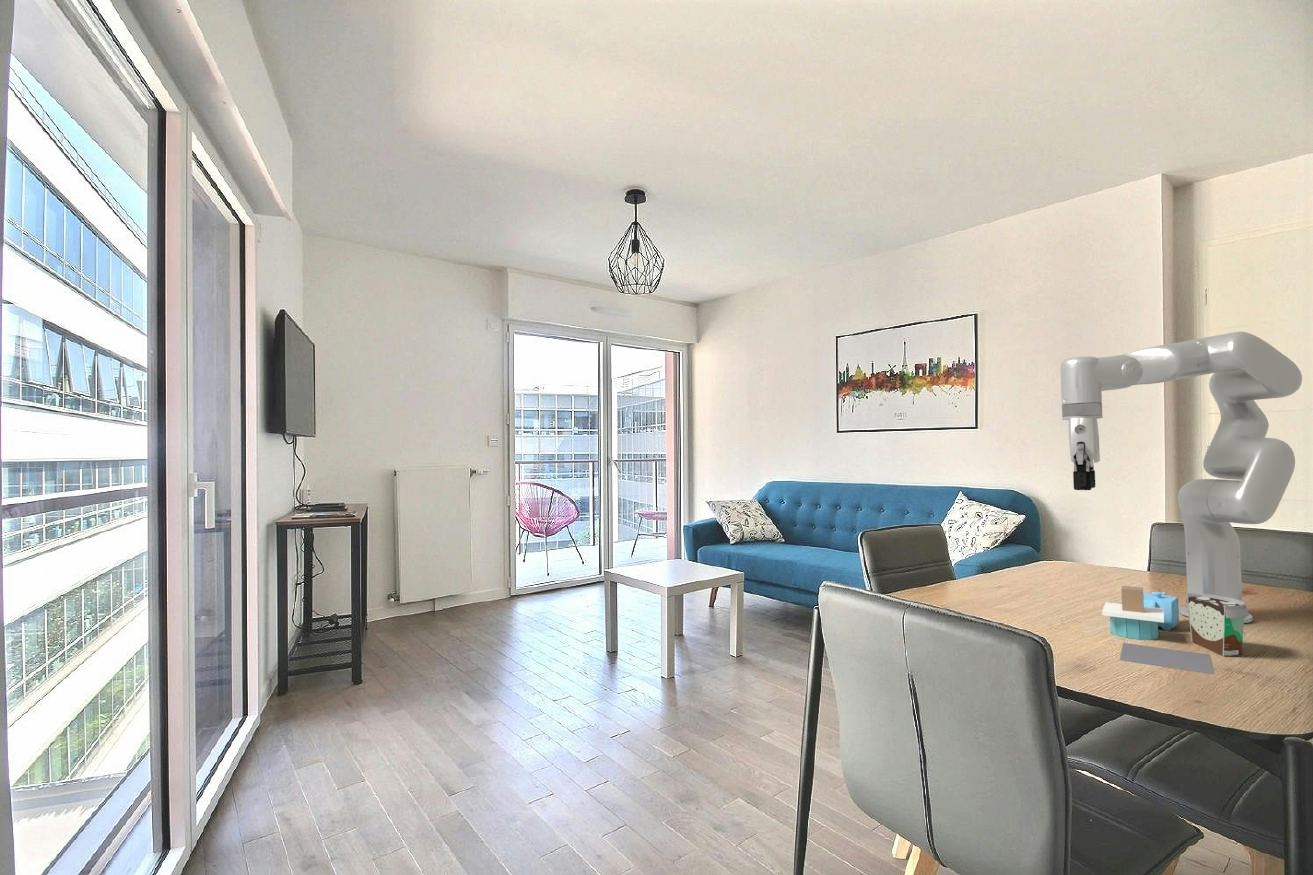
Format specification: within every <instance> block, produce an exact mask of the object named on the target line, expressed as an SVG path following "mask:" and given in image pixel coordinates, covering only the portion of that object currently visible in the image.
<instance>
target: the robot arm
mask: <svg viewBox="0 0 1313 875" xmlns="http://www.w3.org/2000/svg"><path fill="white" fill-rule="evenodd" d="M1210 374H1211V376H1210V378H1209V383H1208V387H1209V391H1210V393H1211V395H1212V397H1213V399H1214V401H1215V402H1216V405H1217V406H1218V407H1217V408H1218V410H1219V413H1220V421H1219V424H1218V427H1217V429H1216V432H1215V433H1214V435H1213V437H1212V439H1211V442H1210V443H1209V446H1208V448H1207V451H1206V452H1205V455H1204V458H1203V463H1202V464H1203V469H1204V471H1205V472H1206V473H1207V474H1208V475H1210V476H1211V477H1214V478H1212V479H1211V478H1201V479H1200V478H1199V479H1194V480H1190V481H1188V482H1186V483H1184V484H1183V485H1182V486H1181V487H1180V489H1179V491H1178V494H1177V504H1178V509H1179V512H1180V515H1181V518H1182V523H1183V528H1184V544H1185V546H1184V547H1185V548H1184V549H1185V566H1186V567H1185V569H1186V571H1185V572H1186V590H1187V591H1186V594H1187V593H1198V594H1209V595H1217V596H1223V597H1228V598H1233V599H1237V600H1240V601H1242V602H1243V587H1242V586H1243V585H1242V563H1241V561H1242V560H1241V543H1240V539H1239V536H1238V533H1237V532H1236V530H1235V528H1234V527H1233V526H1232V523H1233V524H1243V525H1259V524H1262V523H1263V524H1264V523H1266V522H1267V521H1269V520H1270V519H1271V518H1272V517H1273V516H1274V514H1275V513H1276V512H1277V509H1278V508H1279V505H1280V504H1281V501H1282V499H1283V496H1284V494H1285V492H1286V490H1287V488H1288V485H1289V483H1290V481H1291V480H1292V479H1291V478H1292V476H1293V474H1294V471H1295V468H1296V467H1295V466H1296V459H1295V458H1296V457H1295V453H1294V451H1293V448H1292V447H1291V446H1290V444H1288V443H1287V442H1286V441H1284V440H1281V439H1279V438H1273V437H1267V436H1266V435H1267V433H1268V431H1269V420H1268V418H1267V416H1266V414H1265V413H1264V412H1263V410H1262V409H1261V408H1260V406H1259V405H1258V404H1257V402H1256V401H1255V400H1257V401H1259V400H1269V399H1281V398H1285V397H1286V398H1287V397H1288V396H1292V395H1293V394H1295V393H1296V392H1297V391H1298V390H1299V389H1300V388H1301V385H1302V382H1303V375H1302V371H1301V370H1300V368H1299V366H1298V365H1297V364H1296V363H1295V362H1294V361H1293V360H1292V359H1290V358H1289V357H1288V356H1286V355H1285V354H1283V353H1282V352H1280V351H1279V350H1278V349H1277V348H1275V347H1274V346H1272V345H1271V344H1270V343H1268V342H1267V341H1266V340H1264V339H1262V338H1261V337H1258V335H1255V334H1252V333H1249V332H1246V331H1235V332H1234V331H1233V332H1229V333H1224V334H1218V335H1212V336H1207V337H1200V338H1196V339H1189V340H1184V341H1179V342H1173V343H1168V344H1167V343H1166V344H1159V345H1157V346H1153V347H1152V346H1151V347H1148V348H1147V347H1146V348H1143V349H1140V350H1135V351H1132V352H1129V353H1124V354H1119V355H1111V356H1104V357H1095V356H1077V357H1070V358H1069V357H1068V358H1067V359H1063V361H1062V362H1061V364H1060V388H1061V390H1060V393H1061V414H1062V415H1061V416H1062V418H1061V419H1062V420H1063V421H1068V441H1069V443H1068V445H1069V454H1070V456H1069V457H1070V460H1071V462H1072V463H1073V471H1072V478H1073V490H1075V491H1091V490H1092V489H1094V488H1096V470H1095V466H1094V463H1097V464H1098V462H1100V461H1101V455H1100V454H1101V452H1100V437H1099V436H1100V434H1099V425H1098V424H1099V423H1098V419H1103V418H1104V417H1103V400H1102V399H1103V394H1102V392H1105V391H1115V390H1121V389H1122V390H1123V389H1126V388H1130V387H1132V386H1137V385H1138V386H1140V385H1153V384H1160V383H1166V382H1173V381H1178V380H1182V379H1188V378H1189V379H1190V378H1194V377H1199V376H1204V375H1210ZM1215 478H1216V479H1215ZM1179 614H1181V615H1183V616H1186V617H1188V618H1189V613H1188V605H1183V606H1182V605H1181V606H1180V607H1179ZM1252 622H1253V615H1252V614H1251V613H1249V616H1247V617H1244V624H1248V623H1252Z"/></svg>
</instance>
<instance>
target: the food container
mask: <svg viewBox="0 0 1313 875" xmlns="http://www.w3.org/2000/svg"><path fill="white" fill-rule="evenodd" d="M1185 604H1187V606H1188V613H1189V617H1188V622H1189V628H1190V629H1189V631H1190V641H1191V642H1192V643H1194V644H1195V645H1197V646H1200V647H1202V648H1204V649H1207V650H1209V651H1210V652H1212V653H1215V654H1217V655H1219V656H1222V658H1233V657H1240V656H1242V654H1243V639H1244V638H1243V637H1244V624H1245V623H1244V617H1247V616H1249V614H1250V613H1249V611H1248V607H1247V606H1246V605H1245V601H1243V600H1242V601H1240V600H1237V599H1233V598H1228V597H1223V596H1217V595H1209V594H1198V593H1187V592H1186V595H1185Z"/></svg>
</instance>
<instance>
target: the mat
mask: <svg viewBox="0 0 1313 875" xmlns="http://www.w3.org/2000/svg"><path fill="white" fill-rule="evenodd" d="M1119 661H1123V662H1130V663H1134V664H1135V663H1137V664H1142V665H1143V664H1144V665H1149V666H1155V667H1162V668H1168V669H1176V670H1182V671H1189V672H1194V673H1195V672H1196V673H1202V674H1209V675H1215V674H1214V673H1215V672H1214V669H1213V663H1212V658H1211V655H1210V654H1208V653H1200V652H1194V651H1187V650H1185V651H1184V650H1178V649H1170V648H1162V647H1157V646H1149V645H1142V644H1141V645H1140V644H1135V643H1128V642H1123V643H1122V646H1121V651H1120V656H1119Z"/></svg>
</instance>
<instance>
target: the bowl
mask: <svg viewBox="0 0 1313 875" xmlns="http://www.w3.org/2000/svg"><path fill="white" fill-rule="evenodd" d="M1109 626H1110V629H1109V630H1110V633H1111V634H1113V635H1115V636H1118V637H1122V638H1127V639H1132V640H1133V639H1134V640H1140V641H1141V640H1144V641H1145V640H1147V641H1151V640H1156V639H1157V640H1158V639H1159V626H1158V622H1155V621H1146V620H1138V619H1129V618H1121V617H1112V616H1109Z"/></svg>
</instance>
